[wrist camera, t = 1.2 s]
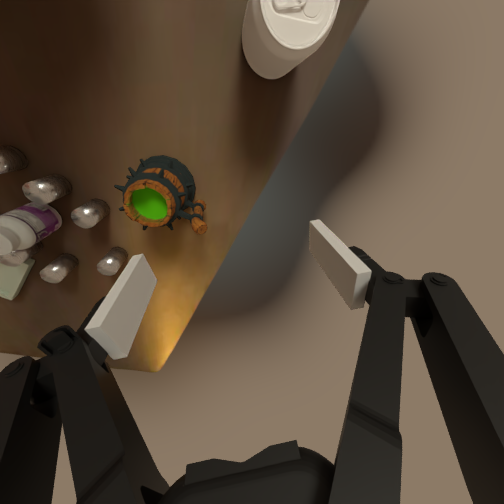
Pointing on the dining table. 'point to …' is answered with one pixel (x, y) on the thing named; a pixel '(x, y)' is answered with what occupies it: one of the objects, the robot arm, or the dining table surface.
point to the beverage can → (284, 33)
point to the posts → (83, 216)
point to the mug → (161, 194)
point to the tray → (13, 278)
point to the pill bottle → (27, 226)
